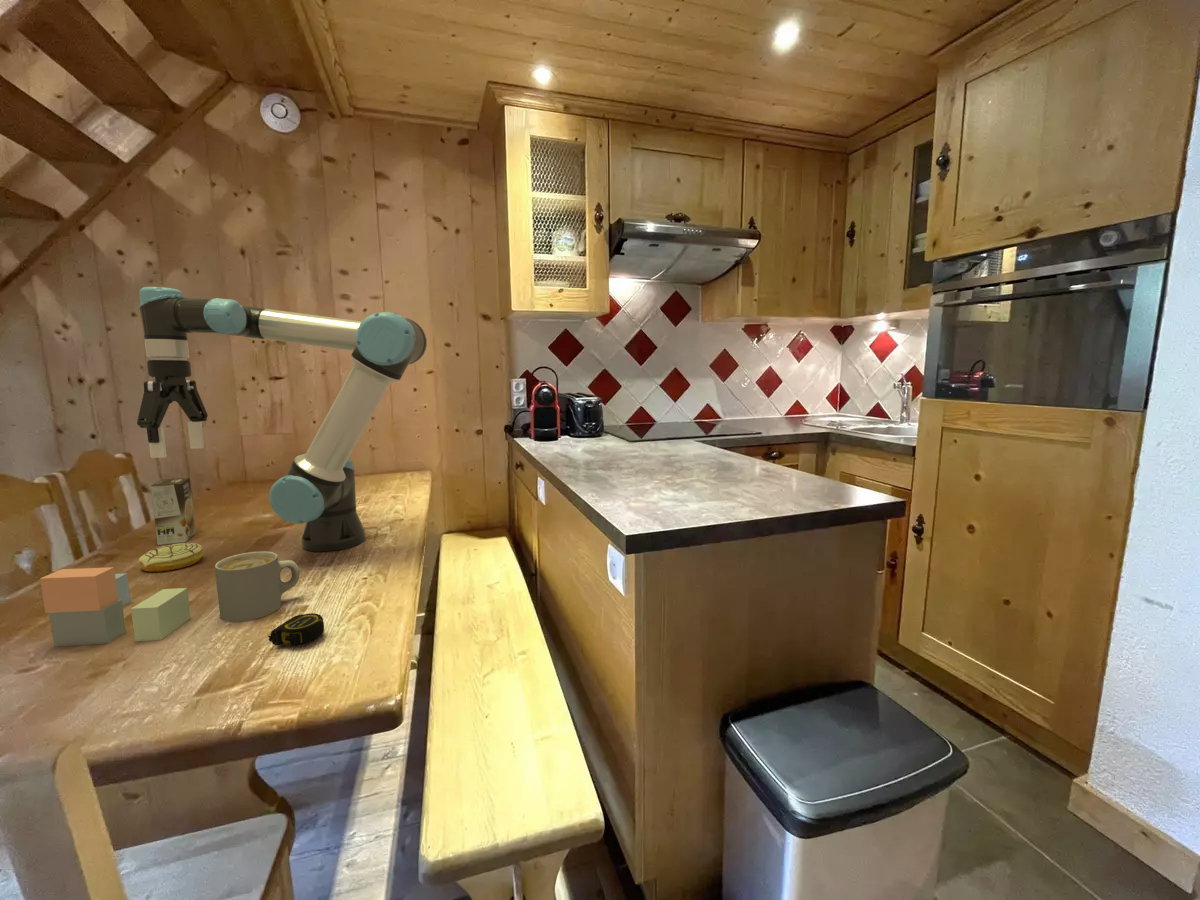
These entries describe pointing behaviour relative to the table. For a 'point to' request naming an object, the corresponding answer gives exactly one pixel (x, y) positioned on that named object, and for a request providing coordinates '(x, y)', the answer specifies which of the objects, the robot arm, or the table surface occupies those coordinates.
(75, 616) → the brick slate
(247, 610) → the coffee mug
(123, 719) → the table surface
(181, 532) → the coffee box
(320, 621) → the tape measure
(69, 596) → the brick terracotta
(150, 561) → the decorated donut
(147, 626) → the brick sage
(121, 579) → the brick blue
